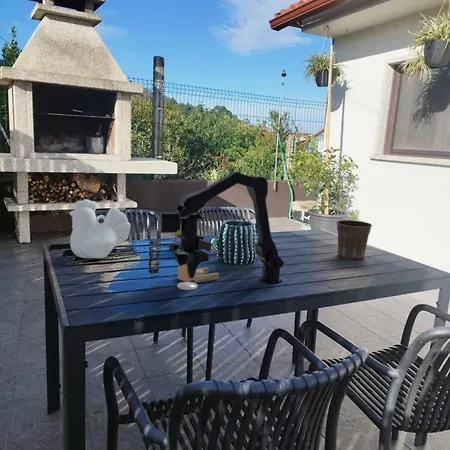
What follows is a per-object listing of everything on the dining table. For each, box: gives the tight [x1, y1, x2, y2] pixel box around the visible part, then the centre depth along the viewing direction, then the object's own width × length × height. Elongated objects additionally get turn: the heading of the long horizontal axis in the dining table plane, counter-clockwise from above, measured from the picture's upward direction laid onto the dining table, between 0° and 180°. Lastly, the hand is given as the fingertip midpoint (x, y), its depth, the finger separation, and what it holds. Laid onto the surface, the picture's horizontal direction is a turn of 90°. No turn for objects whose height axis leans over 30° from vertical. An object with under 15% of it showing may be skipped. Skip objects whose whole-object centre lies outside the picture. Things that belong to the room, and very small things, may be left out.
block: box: [177, 264, 196, 282], centre depth 148 cm, size 4×4×4 cm
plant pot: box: [336, 219, 373, 260], centre depth 201 cm, size 16×16×16 cm
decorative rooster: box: [69, 198, 132, 259], centre depth 179 cm, size 25×16×25 cm, turn 109°
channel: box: [193, 267, 220, 284], centre depth 160 cm, size 9×10×2 cm
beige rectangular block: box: [196, 268, 205, 276], centre depth 158 cm, size 3×8×3 cm, turn 108°
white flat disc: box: [176, 281, 198, 291], centre depth 149 cm, size 7×7×1 cm
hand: (187, 275), depth 148 cm, fingers closed on block, 5 cm apart
